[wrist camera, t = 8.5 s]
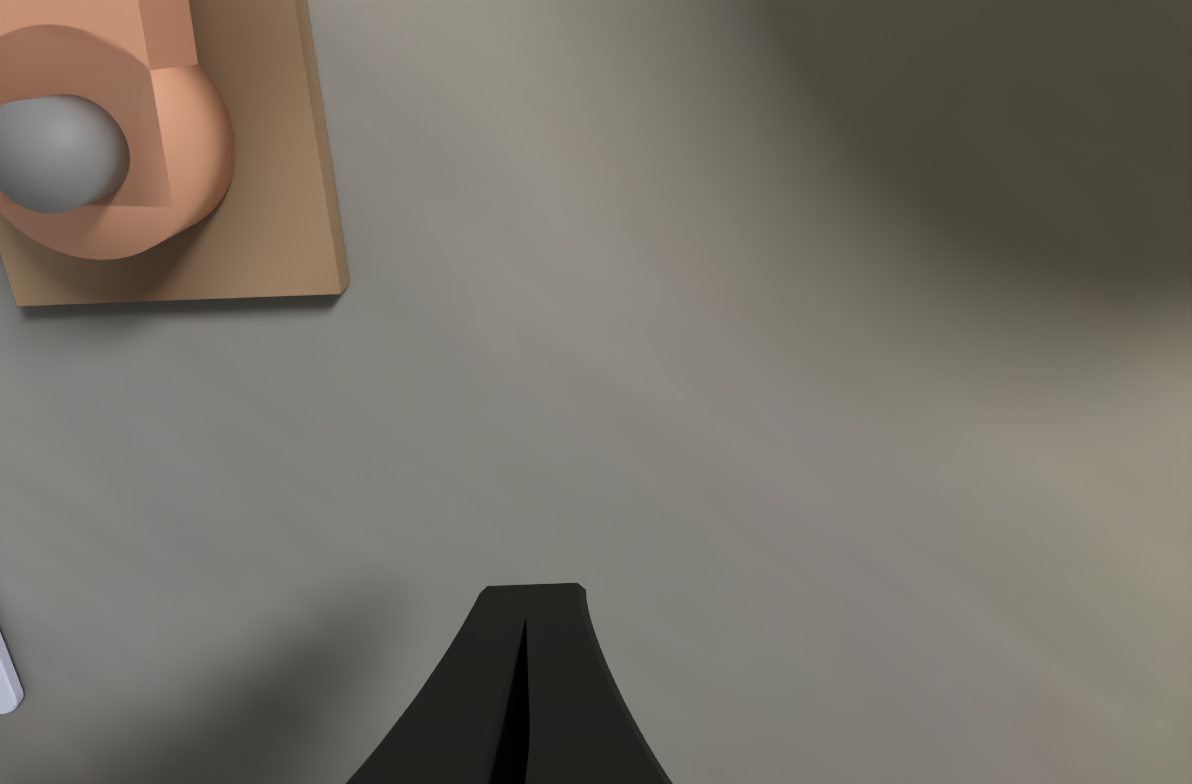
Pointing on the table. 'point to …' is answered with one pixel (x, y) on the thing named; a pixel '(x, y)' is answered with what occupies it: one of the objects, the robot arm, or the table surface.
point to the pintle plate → (254, 196)
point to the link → (107, 125)
